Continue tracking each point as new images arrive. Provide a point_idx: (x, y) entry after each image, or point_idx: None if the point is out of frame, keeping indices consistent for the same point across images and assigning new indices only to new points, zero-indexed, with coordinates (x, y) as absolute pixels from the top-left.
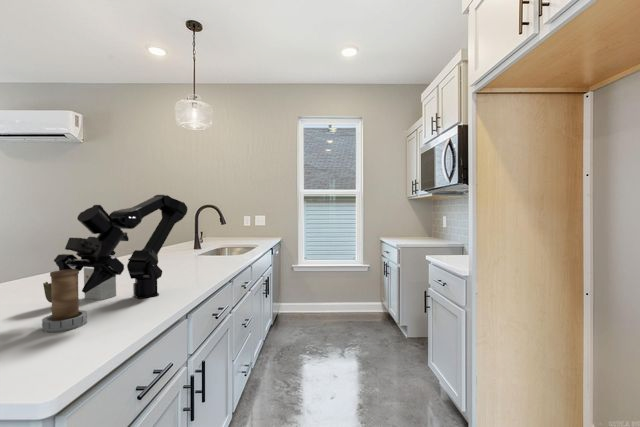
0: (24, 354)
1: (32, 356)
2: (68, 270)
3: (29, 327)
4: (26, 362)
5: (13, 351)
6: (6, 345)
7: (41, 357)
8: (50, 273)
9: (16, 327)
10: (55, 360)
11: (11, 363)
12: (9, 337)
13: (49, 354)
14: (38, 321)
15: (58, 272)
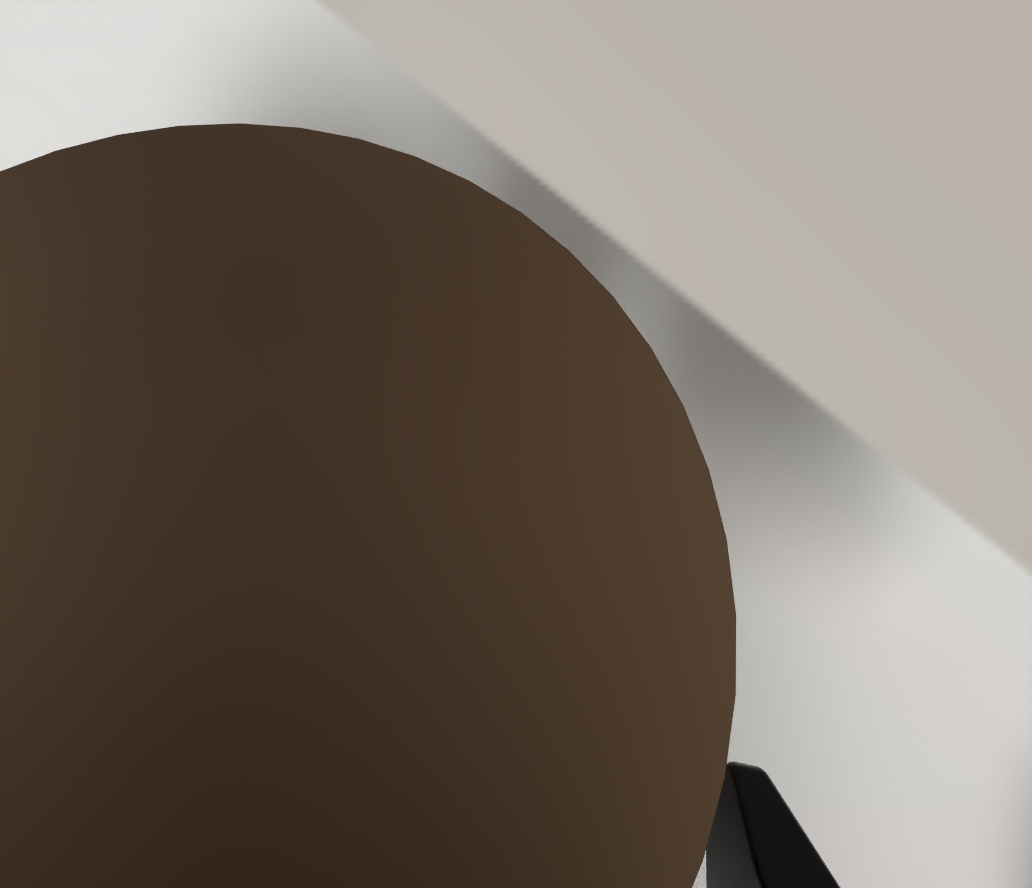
0: (313, 103)
1: (235, 82)
2: (126, 840)
3: (773, 566)
4: (208, 19)
5: (429, 137)
6: (577, 216)
7: (166, 72)
8: (498, 205)
9: (903, 563)
10: (48, 43)
11: (289, 8)
12: (712, 346)
13: (145, 107)
14: (856, 740)
15: (276, 343)
